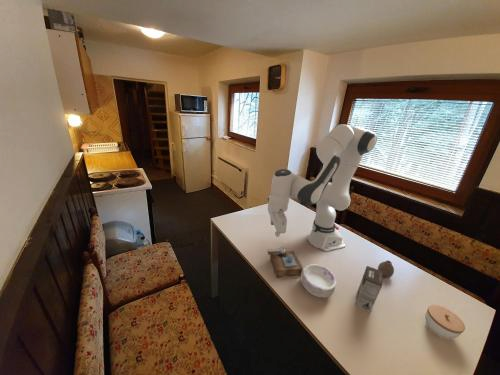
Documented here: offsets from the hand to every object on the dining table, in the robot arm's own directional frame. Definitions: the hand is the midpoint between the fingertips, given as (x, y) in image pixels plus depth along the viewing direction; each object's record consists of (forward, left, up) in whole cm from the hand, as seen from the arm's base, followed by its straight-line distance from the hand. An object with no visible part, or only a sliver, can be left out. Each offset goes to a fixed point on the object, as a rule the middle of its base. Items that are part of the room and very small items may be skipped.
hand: (274, 229), depth 97 cm
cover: (-9, +3, -19) cm, 21 cm away
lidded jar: (-60, +39, -24) cm, 75 cm away
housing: (-8, +1, -24) cm, 25 cm away
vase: (-59, +11, -24) cm, 65 cm away
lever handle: (-4, -3, -18) cm, 19 cm away
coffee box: (-38, +24, -24) cm, 51 cm away
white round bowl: (-19, +15, -24) cm, 34 cm away
